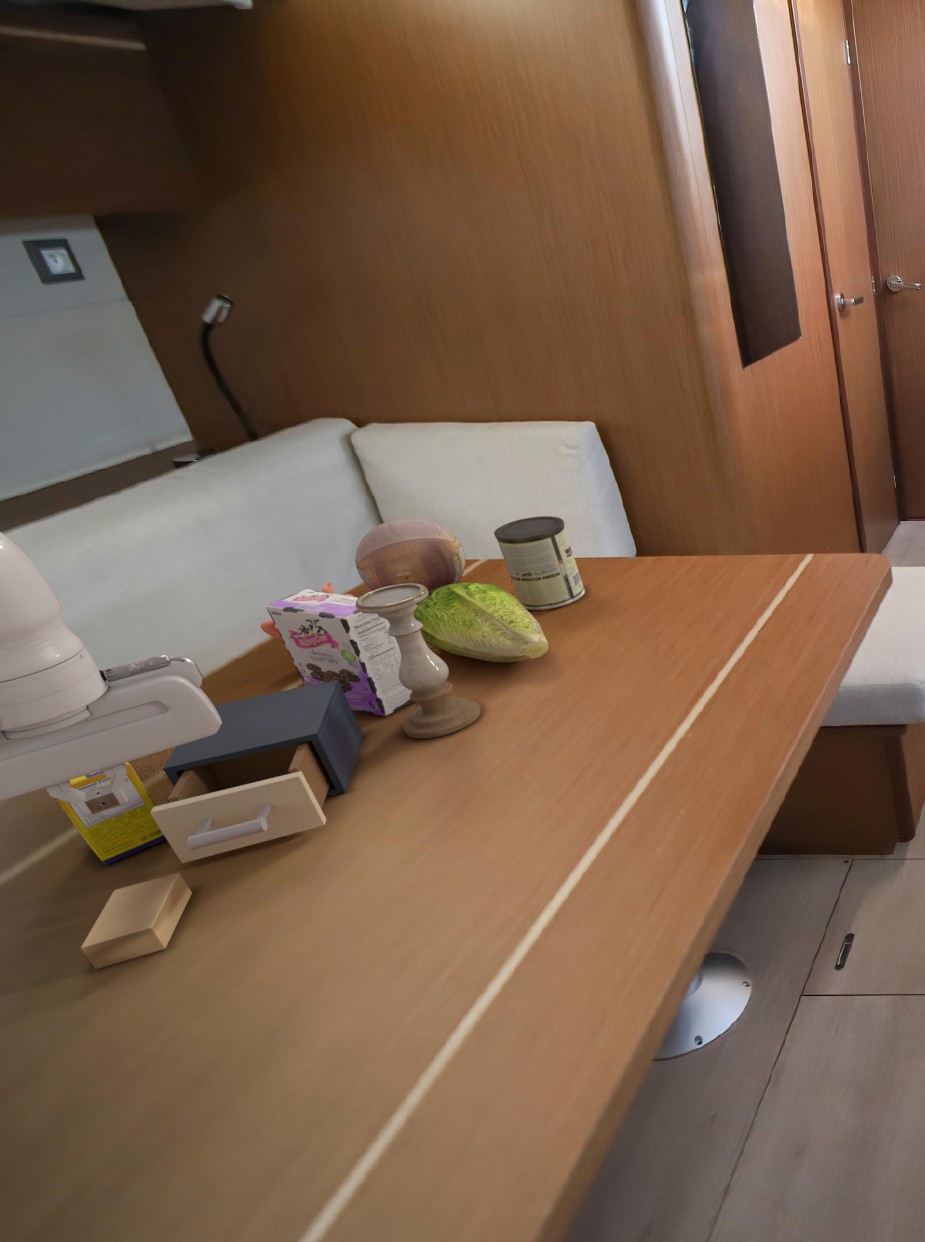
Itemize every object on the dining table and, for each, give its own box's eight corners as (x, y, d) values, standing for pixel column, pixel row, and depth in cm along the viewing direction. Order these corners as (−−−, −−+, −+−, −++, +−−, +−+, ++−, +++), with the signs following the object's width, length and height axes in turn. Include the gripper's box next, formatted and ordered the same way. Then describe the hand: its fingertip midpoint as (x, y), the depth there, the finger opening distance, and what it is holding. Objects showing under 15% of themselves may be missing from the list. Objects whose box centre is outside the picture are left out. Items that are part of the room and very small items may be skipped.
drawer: (317, 849, 102) (290, 799, 99) (168, 890, 96) (134, 838, 93) (344, 765, 116) (321, 719, 113) (215, 797, 110) (187, 749, 107)
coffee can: (515, 595, 163) (490, 524, 156) (580, 581, 168) (558, 511, 162) (523, 616, 155) (497, 542, 149) (590, 600, 161) (568, 528, 155)
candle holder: (412, 713, 128) (357, 587, 119) (485, 699, 132) (437, 575, 123) (398, 745, 121) (339, 614, 112) (476, 729, 125) (425, 601, 116)
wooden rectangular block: (95, 969, 88) (79, 948, 86) (128, 910, 95) (113, 889, 93) (165, 948, 90) (151, 927, 89) (192, 892, 97) (179, 872, 96)
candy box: (311, 704, 130) (261, 604, 123) (352, 683, 135) (307, 587, 128) (385, 718, 127) (339, 616, 120) (424, 696, 132) (382, 598, 125)
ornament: (495, 579, 168) (468, 505, 162) (442, 616, 155) (411, 537, 148) (412, 581, 167) (382, 506, 161) (352, 618, 154) (317, 538, 147)
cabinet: (346, 792, 112) (316, 733, 108) (199, 830, 106) (162, 768, 102) (364, 734, 123) (337, 679, 119) (232, 765, 117) (199, 708, 113)
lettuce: (478, 666, 130) (535, 594, 135) (382, 622, 139) (438, 556, 144) (543, 697, 141) (594, 630, 145) (449, 654, 149) (500, 592, 154)
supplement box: (159, 818, 108) (113, 745, 103) (177, 836, 105) (130, 761, 100) (88, 847, 103) (36, 772, 98) (104, 867, 100) (52, 790, 95)
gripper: (183, 638, 91) (243, 748, 97) (-147, 723, 77) (-53, 845, 83) (191, 659, 87) (253, 771, 94) (-154, 752, 73) (-55, 877, 80)
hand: (107, 807), depth 88 cm, fingers closed
